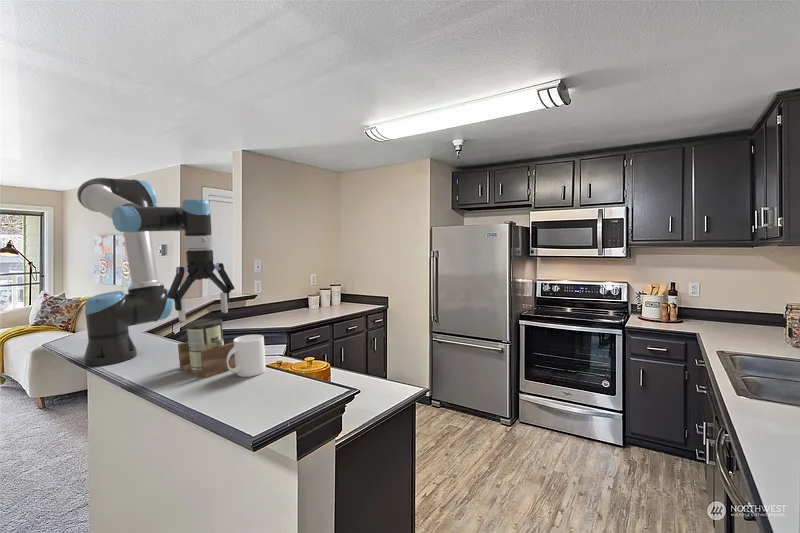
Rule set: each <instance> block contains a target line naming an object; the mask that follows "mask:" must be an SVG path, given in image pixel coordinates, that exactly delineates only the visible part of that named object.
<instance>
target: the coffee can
mask: <svg viewBox="0 0 800 533" xmlns="http://www.w3.org/2000/svg"><path fill="white" fill-rule="evenodd" d="M185 326H186V333H187V342H188V345H189V355H190V365H191V367H190V368H191V369H192V370H202V362H201V351H202V350H206V349H210V348H214V347H217V345H216V340H222V345H225V342H224V331H223V320H222V318H217V317H213V318H212V317H211V318H202V319H197V320H193V321H190V322H187V323H186V324H185Z"/></svg>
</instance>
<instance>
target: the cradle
mask: <svg viewBox="0 0 800 533" xmlns="http://www.w3.org/2000/svg"><path fill="white" fill-rule="evenodd" d="M216 345H217V347H214V348H210V349H206V350H202V351H201V362H202V370H192V369H191V368H190V367H191V365H190V355H189V345H188V341H186V342H182V343H178V344H177V348H178V349H177V350H178V359H179V369H180V368H181V369H180V370H183V371H186V372H188V373H191V374H194V375H197V376H198V377H201V378H205V379H207V378H209V377H212V376H215V375H218V374H222V373H224V372H228V371H230V370H229V369H228V366H227V356H228V353H229V352H230V350H231V349H232V348H233V347H234V341H233V342H228V343H226V344H225V343H224V345H222V340H216ZM228 364H229V366H230V368H235V354H234V353H233V354H232V355H231V356H230V358H229V362H228Z"/></svg>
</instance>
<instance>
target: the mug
mask: <svg viewBox="0 0 800 533" xmlns="http://www.w3.org/2000/svg"><path fill="white" fill-rule="evenodd" d="M233 342H234V347H233V348H232V349H231V350H230V352H229V353H228V356H227V366H228V369H229V370H228V371H230V372H231V373H232V374H236V375H237V376H238V377H242V378H250V377H255V376H259V375H262V374H263V373H264V372H265V371H266V352H265V338H264V335H262V334H246V335H242V336H238V337H235V338H234V339H233ZM233 353H234V354H235V368H230V366H229V364H228V362H229V358H230V356H231V355H232V354H233Z"/></svg>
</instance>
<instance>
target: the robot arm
mask: <svg viewBox="0 0 800 533" xmlns="http://www.w3.org/2000/svg"><path fill="white" fill-rule="evenodd" d="M76 196H77V200H78V202H79V203H80V205H81V206H83V208H85V209H87V210H89V211H91V212H94V213H100V214H102V215H104V216H106V217H107V218H109V219H111V220H112V224H113V227H114V228H115V229H116V231H118V232H120V233H123V236H124V237H123V238H124V243H125V248H126V249H125V251H126V255H127V262H128V267H129V269H128V270H129V274H130V281H131V285H130V286H129V287H128V288H127V292H128V293H126V292H125V291H124V290H117V291H112V292H111V291H110V292H106V293H105V292H104V293H100V294H97V295H93V296H91V297H89V298H87V299H86V300H85V302H84V315H85V320H86V321H85V322H86V331H87V338H88V339H87V340H88V342H87V345H86V348H85V353H84V356H83V361H84V365H85V366H90V367H96V366H98V367H99V366H106V365H112V364H118V363H122V362H125V361H129V360H131V359H133V358H136V356H138V354H137V348H136V345H135V343H134V342H133V339H132V338H131V336H130V331H129V327H131V326H137V325H143V324H148V323H151V322H152V323H154V322H155V323H156V322H158V321H163V320H166V319H167V318H169V316H170V315H171V313H172V311H173V307H174V309H175V311H178V320H179V321H180V322H186V321H187V320H186V307H185V299H182V298H183V297H184V296H185V295H186V293H187V292H188V290H189V289H190V287H191V286H192V284H193V283H194V282H195V281H196V280H197V281H200V280H203V279H205V280H207V279H209V280H210V281H211V282H212V283H213V284H215V285H216V286H217V288H219V289H220V290H221V292H219V295H220V307H221V309H220V312H221V313H224V314H227V313H229V308H228V303H230V293H231V291H233V290H235V286H234V284H233V283H232V281H231V279H230V277H229V276H228V274H227V272H226V270H225V266H224V263H222V262H216V264H215V263H214V250H213V249H212V248H213V247H214V246H213V234H212V218H211V217H212V215H211V214H212V212H211V209H210V202H209V201H208V200H207V199H203V198H202V199H201V198H198V199H197V198H192V199H191V198H187V199H184V200H183V201H182V206H181V207H179V206H177V207H176V206H174V207H173V206H157V203H158V200H157V194H156V192H155V189H154V187H153V186H152V185H151V184H150V183H149V182H148V181H145V180H138V179H128V178H127V179H126V178H124V179H123V178H108V177H96V178H91V179H89V180H87V181H84V182H83V183H81V185H80V186H79V187H78V190H77V193H76ZM183 231H184V242H185V249H186V252H185V255H186V256H185V257H186V263H187V265H186V266H185V267H184V266H177V267H176V270H175V273H176V274H175V276H174V278H173V281H172V283H171V284H170V285H171V286H170V288H169V289H168V288H165V284H164V283H163V282H162V281H160V280H159V275H158V269H157V264H156V263H157V262H156V259H155V258H156V257H155V250H154V246H153V239H152V233H151V232H183ZM215 270H216V271H217V273H218V275H219V276H220V278H221V279H219V277H218V276H217V274H215V273H214V271H215ZM186 272H187V273H188V275H187V276H186V278H185V280H184V281H183V279H184V276H185V274H186ZM221 280H222V281H223V282H222V281H221ZM182 282H183V283H182Z"/></svg>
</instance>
